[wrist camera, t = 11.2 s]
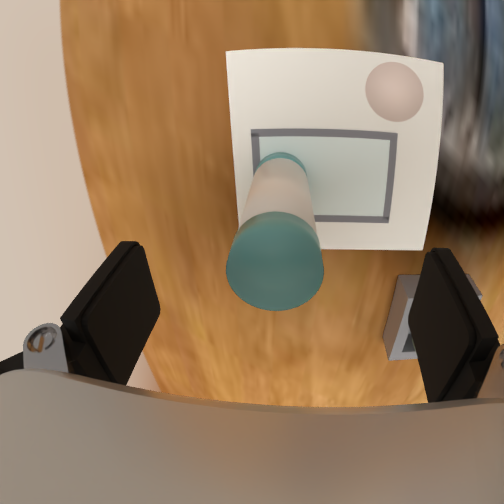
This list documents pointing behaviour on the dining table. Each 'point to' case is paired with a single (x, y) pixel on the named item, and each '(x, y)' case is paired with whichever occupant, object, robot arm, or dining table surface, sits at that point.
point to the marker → (276, 239)
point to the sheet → (343, 137)
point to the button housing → (404, 318)
